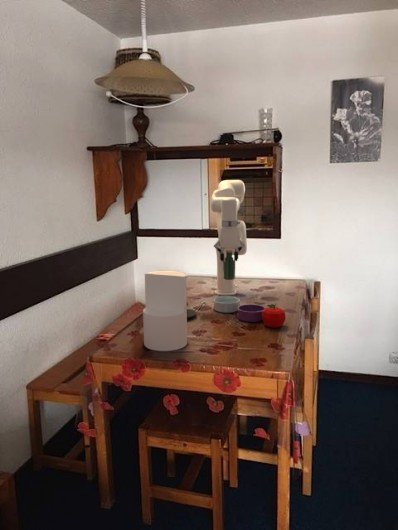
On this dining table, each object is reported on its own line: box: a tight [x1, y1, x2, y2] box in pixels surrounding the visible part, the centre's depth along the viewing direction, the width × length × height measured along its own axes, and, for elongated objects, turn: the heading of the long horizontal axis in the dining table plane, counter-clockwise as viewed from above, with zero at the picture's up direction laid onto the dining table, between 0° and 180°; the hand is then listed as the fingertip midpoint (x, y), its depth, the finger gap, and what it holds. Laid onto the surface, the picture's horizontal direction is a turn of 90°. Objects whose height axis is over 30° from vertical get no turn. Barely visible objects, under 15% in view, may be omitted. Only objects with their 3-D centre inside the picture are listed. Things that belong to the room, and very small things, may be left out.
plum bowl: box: [237, 303, 266, 323], centre depth 214 cm, size 13×13×5 cm
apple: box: [262, 303, 287, 329], centre depth 203 cm, size 11×11×10 cm
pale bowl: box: [213, 296, 241, 314], centre depth 229 cm, size 13×13×5 cm
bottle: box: [223, 250, 236, 280], centre depth 223 cm, size 6×6×14 cm
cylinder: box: [142, 270, 188, 352], centre depth 181 cm, size 17×17×28 cm
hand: (229, 260), depth 223 cm, fingers closed on bottle, 6 cm apart
